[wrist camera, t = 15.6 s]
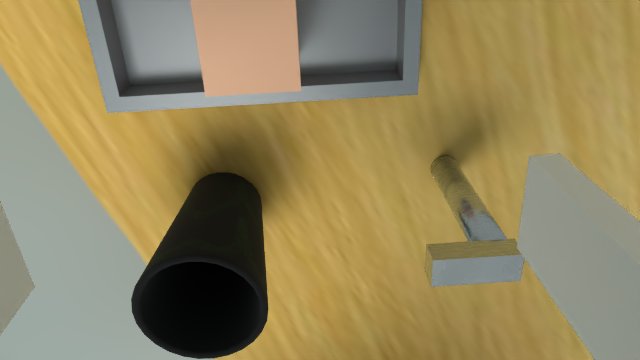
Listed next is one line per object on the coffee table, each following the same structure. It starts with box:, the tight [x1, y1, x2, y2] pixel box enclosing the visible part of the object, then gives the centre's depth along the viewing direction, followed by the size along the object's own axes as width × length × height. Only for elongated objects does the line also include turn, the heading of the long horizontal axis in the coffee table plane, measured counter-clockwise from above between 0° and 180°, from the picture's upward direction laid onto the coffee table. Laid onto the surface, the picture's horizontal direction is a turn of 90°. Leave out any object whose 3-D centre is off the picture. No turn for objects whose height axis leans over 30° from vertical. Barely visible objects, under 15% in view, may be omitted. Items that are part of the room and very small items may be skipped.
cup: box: [131, 173, 268, 359], centre depth 34 cm, size 8×8×12 cm
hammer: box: [425, 156, 524, 287], centre depth 33 cm, size 2×5×12 cm, turn 93°
